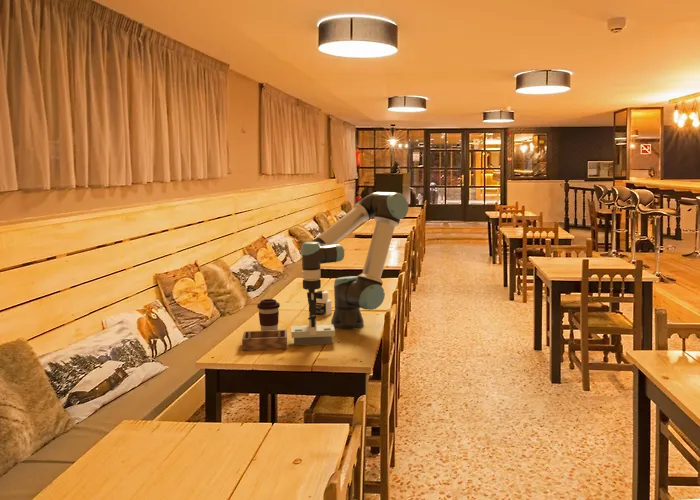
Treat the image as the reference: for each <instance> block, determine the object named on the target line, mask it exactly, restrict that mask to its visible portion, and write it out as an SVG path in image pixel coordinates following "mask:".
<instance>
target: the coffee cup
mask: <svg viewBox="0 0 700 500" xmlns="http://www.w3.org/2000/svg"><path fill="white" fill-rule="evenodd" d="M256 305H257V307H256V308H257V309H258V319H259V320H258V321H259V325H260V331H270V330H279V329H278V326H279V318H280V317H279V315H280V311H279V308H280V306H281V304H280V303H279V302H278V301H277V300H276V299H275V298H274V299H273V298H267V299H266V298H265V299H262V300H260V302H259V303H257V304H256Z"/></svg>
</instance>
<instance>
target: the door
mask: <svg viewBox="0 0 700 500" xmlns="http://www.w3.org/2000/svg"><path fill="white" fill-rule="evenodd" d="M290 328H291V329H290V330H291V333H290V334H291V335H290V336H291V339H294V338H302V337H327V336H332V337H335V336H336V330H335V329H336V328H334V325H333V324H331V323H330V324H316V333H317V334H316V335H310V325H309V324H308V325H291V326H290Z"/></svg>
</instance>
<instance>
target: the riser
mask: <svg viewBox="0 0 700 500" xmlns="http://www.w3.org/2000/svg"><path fill="white" fill-rule="evenodd" d="M331 344H333V336H327V337H302V338H293V346H305V345H306V346H307V345H331Z"/></svg>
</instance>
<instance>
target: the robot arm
mask: <svg viewBox="0 0 700 500" xmlns="http://www.w3.org/2000/svg"><path fill="white" fill-rule="evenodd" d="M408 202H409V201H407V198H406V196H405V195H403V193H400V192H395V191H376V192H372V193H370V194H367V195H366V196H365V197H363V198H362V199H360V200H358V201H357V202H356V203H355V204H354V205H353V206H352V209H351V210H350V211H348V212H347V213H346V214H345V215H344V216H342V217H341V218H340V219H338V220H337V221H336V222H335V223H333V224H332V225H330V227H328V228H327V229H325V230H324V231H323V232H322V233H320V234H319V235H318V236H316V237H315V238H314V239H313V240H312V241H305V242H303V243H302V244H301V246H300V251H299V252H300V254H301V263H302V264H301V265H302V267H301V268H302V271H300V274H301V275H302V288H303V289H304V290H307V293H306V295H307V296H306V298H307V303H308V317H307V318H308V319H307V320H308V325H310V335H316V334H317V333H316V325H317V316H316V298H317V293H316V292H317V291H316V290H319V289H320V290H321V285H322V284H321V283H322V282H321V281H322V280H321V278H322V277H321V273H322V272H321V265H323V264H331V263H338V262H341V261H343V260H344V258H345V248H344V247H343V246H342V244H340V243H339V241H341V240H342V239H344V237H346V236H347V235H349V234H350V233H351V232H352V231H353V230H355V229H356V228H358V226H359V225H361V224H362V223H363V222H364V223H365V222H369V220H371V219H374V221H375V226H374V230H373V233H372V237H371V240H370V244H369V246H368V247H369V248H368V251H367V255H366V259H365V262H364V265H363V269H362V273H360V274H358V275H356V276H355V275H353V276H352V275H349V276H342V277H341V276H340V277H337V278H335V279H334V283H333V288H334V289H333V291H334V292H333V293H334V295H333V296H334V312H333V314H332V317H331V322H330V324H333V325H334V329H338V330H357V329H361V328H362V327H364V324H365V323H364V322H365V321H364V319H363V314H362V312H361V309H363V310H368V311H371V310H376V309H377V308H379V307H380V306H381V305H383V302H384V300H385V293H386V292H385V289H384V287H383V284H384V283H383V282H384V281H383V280H382V274H383V272H384V268H385V264H386V260H387V257H388V252H389V249H390V245H391V241H392V239H393V235H394V231H395V228H396V227H398V226H400V222H401V220H402V219H404V218H405V217H407V215H408V212H409V203H408ZM338 243H339V244H338Z"/></svg>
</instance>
